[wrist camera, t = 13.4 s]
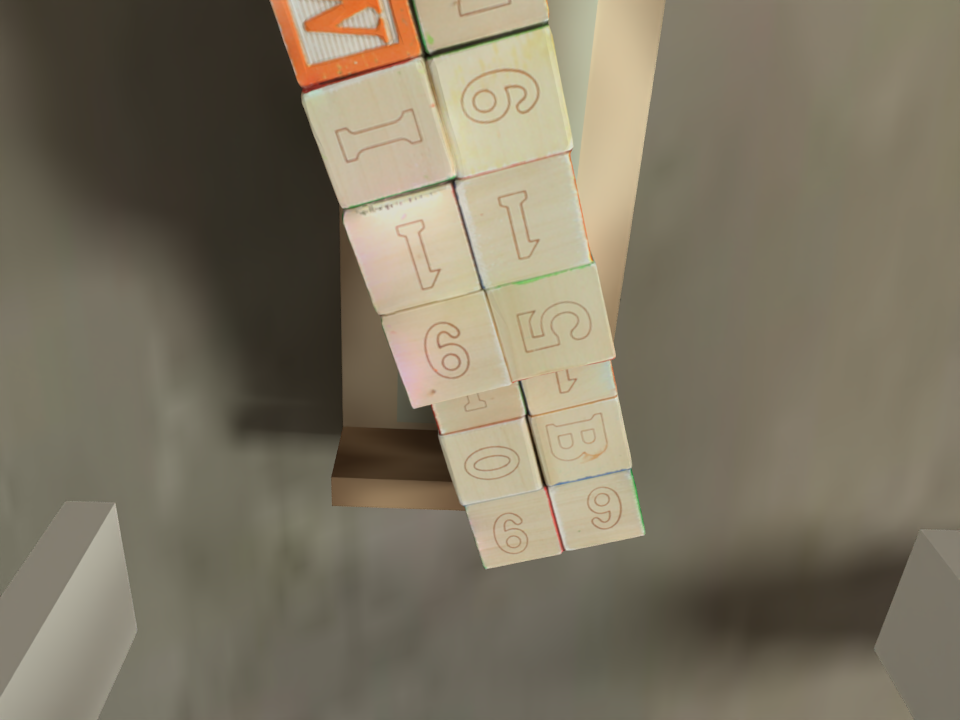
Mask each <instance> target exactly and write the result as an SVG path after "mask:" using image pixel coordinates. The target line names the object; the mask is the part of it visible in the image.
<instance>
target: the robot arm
mask: <svg viewBox="0 0 960 720" xmlns="http://www.w3.org/2000/svg"><path fill="white" fill-rule="evenodd" d="M136 633H137V625H136V619H135V613H134V608H133V602H132V596H131V591H130V585H129V579H128V573H127V568H126V562H125V556H124V550H123V545H122V539H121V533H120V528H119V522H118V516H117V510H116V505H115V502H84V501H65V503H64V504H63V505H62V507H61V508H60V510H59V511H58V513H57V514H56V516H55V517H54V519H53V520H52V522H51V523H50V525H49V526H48V528H47V529H46V531H45V532H44V534H43V535H42V536H41V538H40V539H39V541H38V542H37V544H36V545H35V547H34V548H33V550H32V551H31V553H30V554H29V556H28V557H27V559H26V560H25V562H24V563H23V565H22V566H21V567H20V569H19V570H18V572H17V573H16V575H15V576H14V578H13V579H12V581H11V582H10V584H9V585H8V587H7V588H6V590H5V591H4V593H3V594H2V596H1V597H0V720H97V719H98V717H99V715H100V713H101V710H102V708H103V706H104V704H105V702H106V699H107V697H108V695H109V693H110V690H111V688H112V686H113V684H114V682H115V679H116V677H117V675H118V673H119V670H120V668H121V666H122V664H123V662H124V659H125V657H126V655H127V653H128V651H129V648H130V646H131V644H132V642H133V639H134V637H135V635H136ZM874 651H875V652H876V654H877V656H878V658H879V659H880V661H881V663H882V665H883V666H884V668H885V670H886V672H887V673H888V675H889V677H890V678H891V680H892V682H893V684H894V685H895V687H896V689H897V691H898V692H899V694H900V696H901V698H902V699H903V701H904V703H905V704H906V706H907V708H908V710H909V711H910V713H911V715H912V717H913V718H914V720H960V530H933V529H920V530H919V533H918V535H917V538H916V541H915V543H914V546H913V548H912V551H911V554H910V556H909V559H908V561H907V564H906V566H905V569H904V572H903V574H902V577H901V579H900V582H899V585H898V587H897V590H896V592H895V595H894V598H893V600H892V603H891V605H890V608H889V611H888V613H887V616H886V618H885V621H884V624H883V626H882V629H881V631H880V634H879V636H878V639H877V642H876V644H875V647H874Z"/></svg>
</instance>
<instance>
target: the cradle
mask: <svg viewBox="0 0 960 720" xmlns="http://www.w3.org/2000/svg"><path fill="white" fill-rule="evenodd" d="M547 2H548V7H549V21H548V24H549V27H550V29H551V32H552V35H553V41H554V46H555V51H556V57H557V62H558V67H559V73H560V78H561V83H562V88H563V93H564V98H565V103H566V108H567V113H568V117H569V123H570V128H571V133H572V138H573V145H574V147H573V149H572V151H571V153H570V156H571V161H572V165H573V170H574V175H575V179H576V184H577V189H578V194H579V199H580V204H581V208H582V213H583V218H584V223H585V228H586V232H587V237H588V242H589V247H590V250H591V253H592V255H593V257H594V260H595V262H596V266H597V270H598V275H599V280H600V284H601V289H602V293H603V298H604V302H605V307H606V312H607V316H608V321H609V325H610V330H611V335H612V339H613V342H614V335H615V329H616V322H617V315H618V309H619V302H620V296H621V289H622V283H623V276H624V269H625V263H626V256H627V250H628V243H629V236H630V230H631V223H632V217H633V210H634V204H635V197H636V190H637V184H638V177H639V171H640V164H641V158H642V151H643V144H644V138H645V131H646V125H647V118H648V112H649V105H650V98H651V92H652V85H653V79H654V72H655V66H656V59H657V52H658V46H659V39H660V33H661V26H662V19H663V13H664V6H665V0H547ZM342 214H343V208H342V207H341V206H340V204H339V217H340V274H341V332H342V389H343V429H342V434H341V438H340V442H339V446H338V451H337V455H336V459H335V464H334V468H333V472H332V477H331V484H332V506H351V507H379V508H406V509H434V510H461V511H466V510H465V507H464V506H463V505H461V504H460V503H459V500H458V497H457V494H456V491H455V488H454V485H453V482H452V479H451V476H450V473H449V470H448V468H447V464H446V461H445V458H444V454H443V451H442V448H441V445H440V441H439V438H438V430H439V429H438V427H437V424H436V420H435V417H434V414H433V411H432V408H431V405H427V406H423V407H419V408H415V409H413V408H412V407H411V405H410V402H409V399H408V396H407V393H406V391H405V388H404V385H403V383H402V380H401V378H400V375H399V372H398V369H397V366H396V364H395V361H394V358H393V355H392V353H391V350H390V347H389V344H388V342H387V339H386V336H385V334H384V331H383V328H382V323H381V317H380V315H379V314H378V313H377V312H376V311H375V309H374V307H373V304H372V301H371V299H370V296H369V293H368V290H367V288H366V285H365V282H364V280H363V277H362V274H361V271H360V269H359V266H358V263H357V260H356V257H355V255H354V252H353V249H352V247H351V245H350V242H349V240H348V237H347V233H346V230H345V228H344V225H343V221H342Z"/></svg>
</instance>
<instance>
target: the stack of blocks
mask: <svg viewBox="0 0 960 720" xmlns="http://www.w3.org/2000/svg"><path fill="white" fill-rule="evenodd" d="M269 1H270V3H271V6H272V9H273V12H274V15H275V18H276V20H277V23H278V26H279V29H280V32H281V35H282V38H283V41H284V44H285V47H286V50H287V53H288V56H289V59H290V61H291V64H292V67H293V70H294V73H295V76H296V79H297V81H298V83H299V85H300V86H301V88H302V93H301V100H302V105H303V107H304V110H305V113H306V115H307V118H308V121H309V124H310V127H311V129H312V132H313V135H314V137H315V140H316V143H317V145H318V148H319V151H320V154H321V156H322V159H323V162H324V165H325V168H326V170H327V173H328V176H329V178H330V181H331V184H332V186H333V189H334V192H335V194H336V197H337V200H338V202H339V204H340V206H341V207H342V208H343V214H342V221H343V225H344V228H345V230H346V233H347V237H348V240H349V242H350V245H351V247H352V249H353V252H354V255H355V257H356V260H357V263H358V266H359V269H360V271H361V274H362V277H363V280H364V282H365V285H366V288H367V290H368V293H369V296H370V299H371V301H372V304H373V307H374V309H375V311H376V312H377V313H378V314H379V315H380V317H381V323H382V328H383V331H384V334H385V336H386V339H387V342H388V344H389V347H390V350H391V353H392V355H393V358H394V361H395V364H396V366H397V369H398V372H399V375H400V378H401V380H402V383H403V385H404V388H405V391H406V393H407V396H408V399H409V402H410V405H411V407H412V408H413V409H415V408H419V407H423V406H427V405H431V408H432V411H433V414H434V417H435V420H436V424H437V427H438V429H439V430H438V438H439V441H440V445H441V448H442V451H443V454H444V458H445V461H446V464H447V468H448V470H449V473H450V476H451V479H452V482H453V485H454V488H455V491H456V494H457V497H458V500H459V503H460V504H461V505H463V506H464V507H465V510H466V514H467V517H468V521H469V524H470V527H471V530H472V533H473V536H474V539H475V542H476V545H477V548H478V552H479V555H480V558H481V561H482V564H483V567H484V568H485V569H489V568H494V567H499V566H504V565H509V564H513V563H518V562H523V561H528V560H533V559H538V558H544V557H549V556H554V555H559V554H561V553H562V552H563V551H565V550H575V549H580V548H585V547H590V546H595V545H600V544H605V543H609V542H614V541H620V540H624V539H629V538H634V537H638V536H643V535H645V527H644V523H643V518H642V513H641V509H640V504H639V500H638V494H637V489H636V485H635V481H634V477H633V473H632V469H631V467H632V460H631V455H630V451H629V446H628V442H627V437H626V432H625V427H624V422H623V417H622V412H621V408H620V403H619V399H618V395H617V386H616V383H615V377H614V372H613V368H612V363H611V360H613V359H614V358H615V357H616V354H615V349H614V344H613V339H612V335H611V330H610V325H609V321H608V316H607V312H606V307H605V302H604V298H603V293H602V289H601V284H600V280H599V275H598V270H597V266H596V262H595V260H594V257H593V255H592V253H591V250H590V247H589V242H588V237H587V232H586V228H585V223H584V218H583V213H582V208H581V204H580V199H579V194H578V189H577V184H576V179H575V175H574V170H573V165H572V161H571V156H570V153H571V151H572V149H573V147H574V145H573V138H572V133H571V128H570V123H569V117H568V113H567V108H566V103H565V98H564V93H563V88H562V83H561V78H560V73H559V67H558V62H557V57H556V51H555V46H554V41H553V35H552V32H551V29H550V27H549V24H548V21H549V7H548V2H547V0H269Z"/></svg>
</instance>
